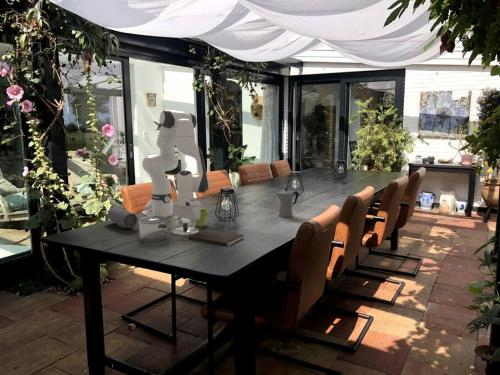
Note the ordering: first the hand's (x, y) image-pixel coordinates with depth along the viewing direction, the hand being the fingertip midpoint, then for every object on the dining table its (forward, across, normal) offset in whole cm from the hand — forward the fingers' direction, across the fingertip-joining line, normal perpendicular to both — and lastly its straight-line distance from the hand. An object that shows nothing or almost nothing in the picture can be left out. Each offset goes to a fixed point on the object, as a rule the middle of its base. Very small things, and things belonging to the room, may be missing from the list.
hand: (186, 225), depth 222 cm
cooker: (+3, -3, -19) cm, 20 cm away
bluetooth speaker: (+3, -36, -18) cm, 40 cm away
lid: (+3, 0, 0) cm, 3 cm away
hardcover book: (+4, +23, +2) cm, 23 cm away
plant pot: (+3, -4, +14) cm, 15 cm away
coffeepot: (+4, +17, +68) cm, 70 cm away
